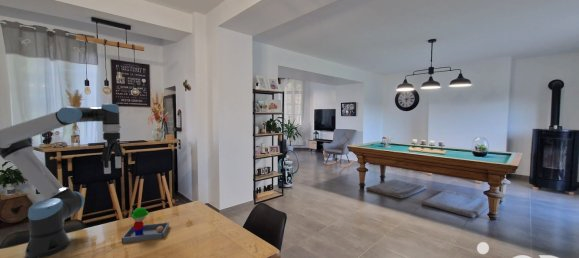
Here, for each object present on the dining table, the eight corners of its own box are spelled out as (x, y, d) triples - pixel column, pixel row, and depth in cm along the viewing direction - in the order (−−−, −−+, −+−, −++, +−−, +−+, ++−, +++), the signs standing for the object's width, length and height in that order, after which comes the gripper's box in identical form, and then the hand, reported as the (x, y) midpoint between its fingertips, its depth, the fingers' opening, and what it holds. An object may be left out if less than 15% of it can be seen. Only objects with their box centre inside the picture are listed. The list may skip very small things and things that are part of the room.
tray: (121, 244, 122) (121, 238, 122) (131, 231, 135) (131, 226, 135) (163, 238, 127) (163, 233, 127) (168, 227, 140) (168, 222, 140)
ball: (155, 234, 131) (155, 228, 130) (157, 231, 134) (157, 225, 134) (162, 233, 131) (162, 227, 131) (164, 230, 135) (164, 224, 135)
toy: (143, 238, 126) (142, 210, 125) (128, 238, 126) (127, 210, 125) (152, 231, 134) (151, 205, 133) (138, 231, 134) (137, 205, 133)
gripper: (109, 134, 120) (110, 175, 122) (128, 130, 144) (129, 165, 146) (91, 134, 118) (93, 176, 120) (113, 130, 142) (115, 166, 144)
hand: (113, 170), depth 133 cm, fingers open, 13 cm apart
